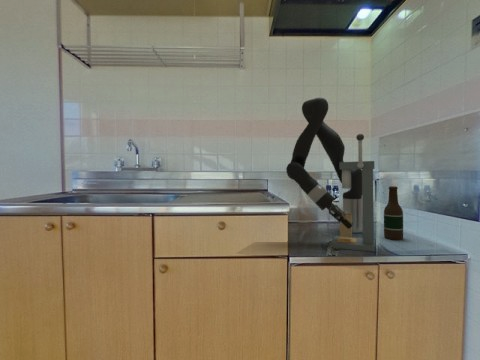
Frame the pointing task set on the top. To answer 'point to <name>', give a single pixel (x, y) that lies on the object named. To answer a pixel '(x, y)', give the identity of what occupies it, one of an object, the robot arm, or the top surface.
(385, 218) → the beer bottle
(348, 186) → the press
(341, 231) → the block
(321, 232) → the top surface
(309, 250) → the top surface
